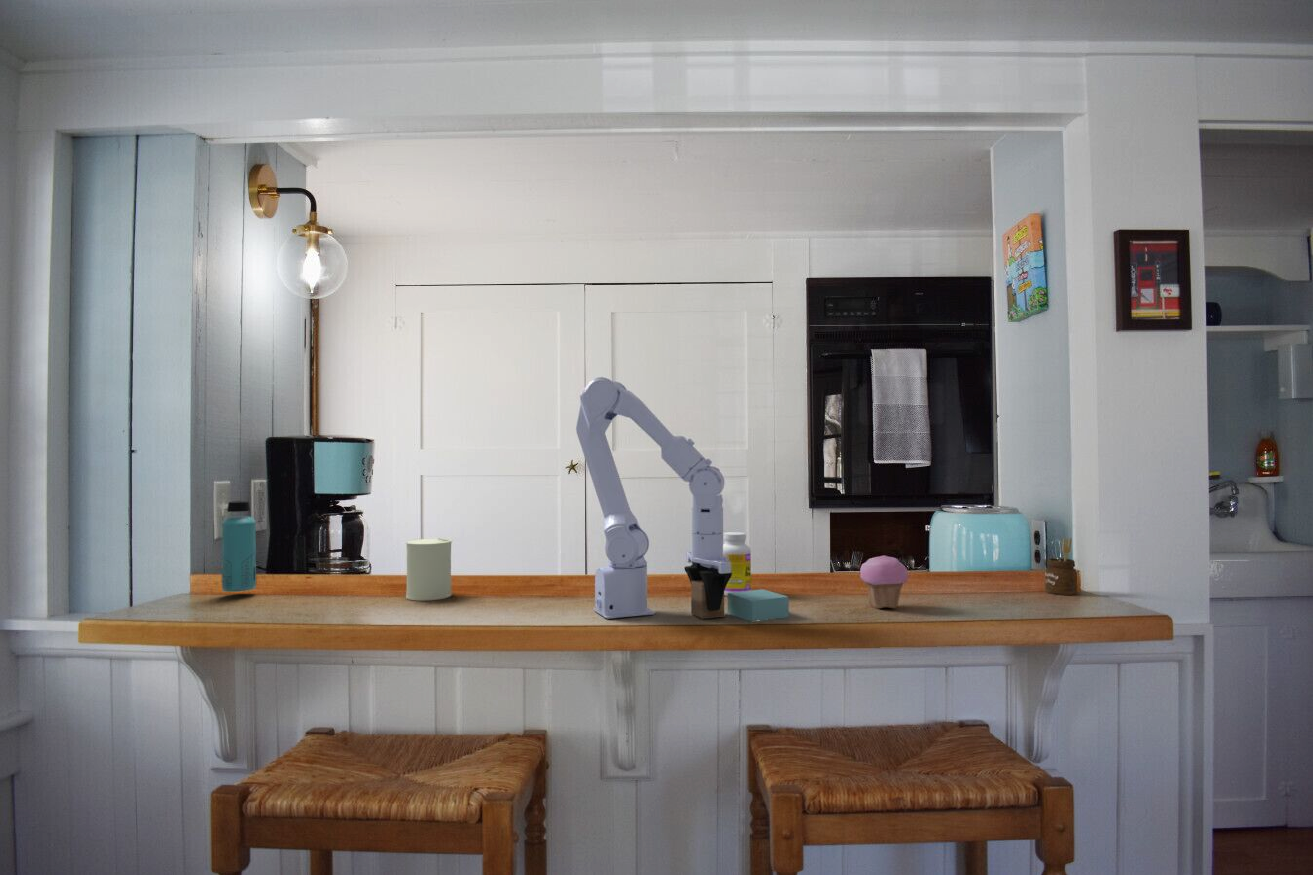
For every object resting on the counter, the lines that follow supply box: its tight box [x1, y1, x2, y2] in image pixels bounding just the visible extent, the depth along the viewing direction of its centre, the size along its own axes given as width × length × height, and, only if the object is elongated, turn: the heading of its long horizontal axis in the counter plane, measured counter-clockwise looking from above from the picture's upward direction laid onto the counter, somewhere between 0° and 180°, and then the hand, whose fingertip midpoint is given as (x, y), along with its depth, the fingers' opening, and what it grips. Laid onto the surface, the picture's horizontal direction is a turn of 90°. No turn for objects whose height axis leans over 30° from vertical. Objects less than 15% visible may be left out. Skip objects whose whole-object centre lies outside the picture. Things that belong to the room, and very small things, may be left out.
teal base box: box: [727, 588, 790, 622], centre depth 135 cm, size 8×8×4 cm
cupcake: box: [859, 555, 909, 610], centre depth 141 cm, size 9×9×10 cm
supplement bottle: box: [723, 531, 752, 597], centre depth 155 cm, size 7×7×13 cm
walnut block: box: [690, 580, 725, 619], centre depth 134 cm, size 4×4×6 cm
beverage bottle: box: [220, 500, 258, 593], centre depth 154 cm, size 6×7×20 cm
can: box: [405, 538, 453, 602], centre depth 154 cm, size 9×9×12 cm
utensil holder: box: [1044, 537, 1078, 596], centre depth 155 cm, size 6×6×12 cm
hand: (707, 607), depth 134 cm, fingers closed on walnut block, 4 cm apart
